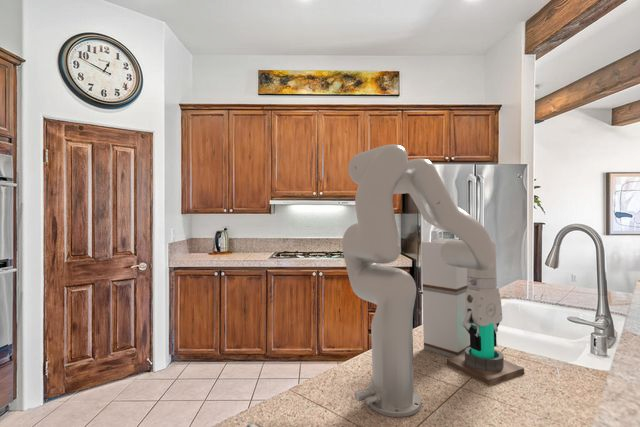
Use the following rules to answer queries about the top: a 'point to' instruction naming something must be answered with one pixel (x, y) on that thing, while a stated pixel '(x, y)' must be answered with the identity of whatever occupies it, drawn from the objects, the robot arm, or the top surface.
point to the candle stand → (485, 367)
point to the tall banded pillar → (443, 303)
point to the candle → (485, 342)
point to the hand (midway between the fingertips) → (483, 346)
